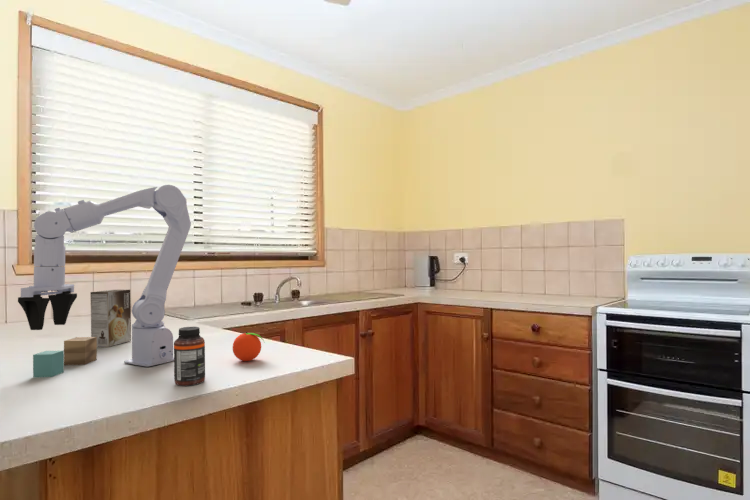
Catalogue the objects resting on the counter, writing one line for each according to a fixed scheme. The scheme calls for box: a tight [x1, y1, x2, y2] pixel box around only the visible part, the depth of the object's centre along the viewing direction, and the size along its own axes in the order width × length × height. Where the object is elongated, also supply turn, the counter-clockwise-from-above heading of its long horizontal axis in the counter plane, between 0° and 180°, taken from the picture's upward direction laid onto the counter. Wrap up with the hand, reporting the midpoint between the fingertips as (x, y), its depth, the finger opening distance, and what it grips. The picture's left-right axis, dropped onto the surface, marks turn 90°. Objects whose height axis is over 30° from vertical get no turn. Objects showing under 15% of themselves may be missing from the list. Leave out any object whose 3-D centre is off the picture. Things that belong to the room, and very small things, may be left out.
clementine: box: [232, 331, 265, 362], centre depth 113 cm, size 8×7×7 cm
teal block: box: [32, 350, 65, 378], centre depth 101 cm, size 4×4×5 cm
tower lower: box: [64, 349, 98, 366], centre depth 113 cm, size 5×5×3 cm
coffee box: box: [90, 289, 132, 348], centre depth 137 cm, size 9×6×16 cm
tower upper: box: [63, 336, 98, 353], centre depth 113 cm, size 5×5×3 cm
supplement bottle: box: [173, 326, 206, 387], centre depth 94 cm, size 6×6×11 cm
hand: (48, 327), depth 102 cm, fingers open, 7 cm apart
